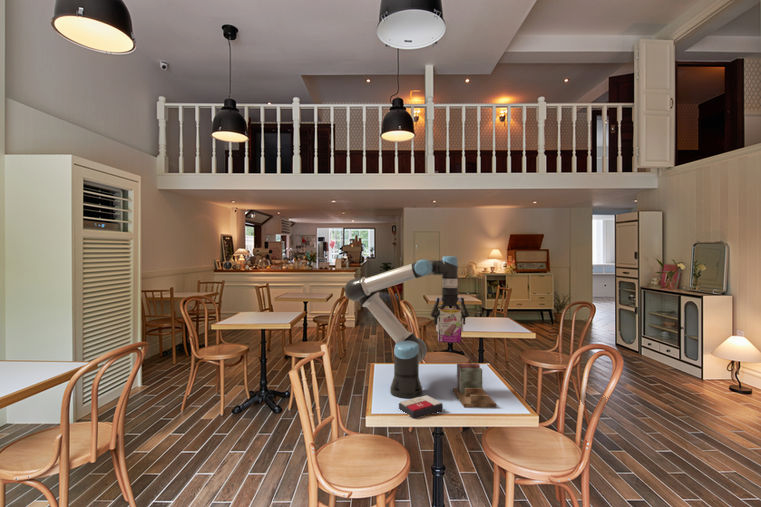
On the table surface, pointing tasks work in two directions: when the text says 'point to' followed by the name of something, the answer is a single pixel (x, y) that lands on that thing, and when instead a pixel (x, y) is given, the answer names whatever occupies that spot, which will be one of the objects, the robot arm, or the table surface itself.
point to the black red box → (420, 406)
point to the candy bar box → (449, 325)
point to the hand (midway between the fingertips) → (449, 331)
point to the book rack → (471, 386)
